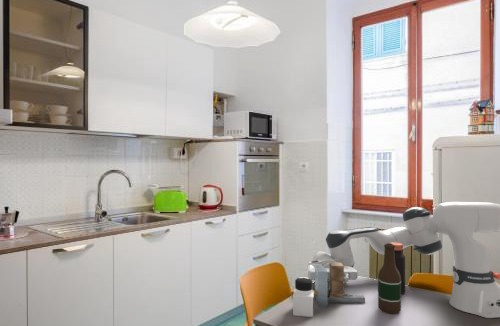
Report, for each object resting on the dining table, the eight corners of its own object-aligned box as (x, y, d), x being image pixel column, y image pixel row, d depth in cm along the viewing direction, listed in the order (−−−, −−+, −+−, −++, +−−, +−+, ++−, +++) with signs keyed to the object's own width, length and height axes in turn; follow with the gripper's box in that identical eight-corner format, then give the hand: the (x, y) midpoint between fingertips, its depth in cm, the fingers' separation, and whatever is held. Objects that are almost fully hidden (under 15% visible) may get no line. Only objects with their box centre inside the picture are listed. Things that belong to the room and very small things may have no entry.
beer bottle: (390, 316, 118) (390, 247, 118) (373, 308, 124) (373, 243, 124) (406, 312, 121) (405, 245, 121) (388, 304, 128) (388, 240, 128)
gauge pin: (321, 294, 132) (321, 290, 132) (322, 295, 130) (322, 291, 130) (309, 294, 132) (309, 290, 132) (309, 295, 130) (309, 291, 130)
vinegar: (384, 289, 142) (384, 242, 142) (398, 288, 144) (397, 241, 144) (394, 295, 136) (394, 246, 136) (409, 294, 138) (409, 245, 138)
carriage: (340, 293, 133) (340, 262, 133) (343, 297, 128) (343, 266, 128) (321, 292, 133) (321, 262, 133) (323, 297, 129) (323, 265, 129)
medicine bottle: (313, 317, 117) (313, 283, 117) (292, 315, 118) (292, 281, 118) (313, 308, 124) (313, 276, 124) (294, 307, 125) (294, 275, 125)
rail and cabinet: (362, 299, 132) (362, 266, 132) (368, 306, 125) (367, 272, 125) (314, 298, 133) (314, 265, 133) (318, 306, 126) (318, 271, 126)
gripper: (352, 276, 146) (363, 287, 132) (304, 276, 146) (310, 288, 132) (352, 261, 146) (362, 271, 132) (304, 261, 146) (310, 272, 132)
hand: (336, 279), depth 132 cm, fingers open, 7 cm apart
